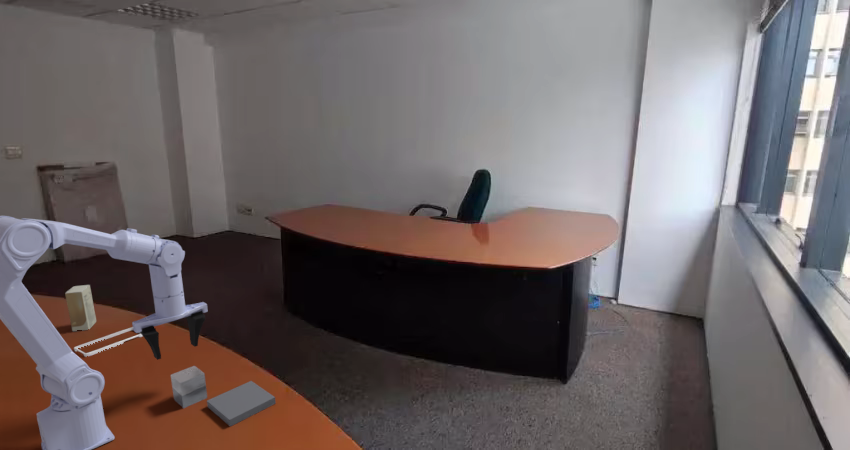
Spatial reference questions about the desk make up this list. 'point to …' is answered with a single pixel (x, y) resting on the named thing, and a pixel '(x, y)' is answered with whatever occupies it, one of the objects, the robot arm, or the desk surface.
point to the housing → (189, 386)
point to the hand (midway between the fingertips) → (176, 351)
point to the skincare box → (80, 307)
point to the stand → (240, 403)
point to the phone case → (105, 346)
